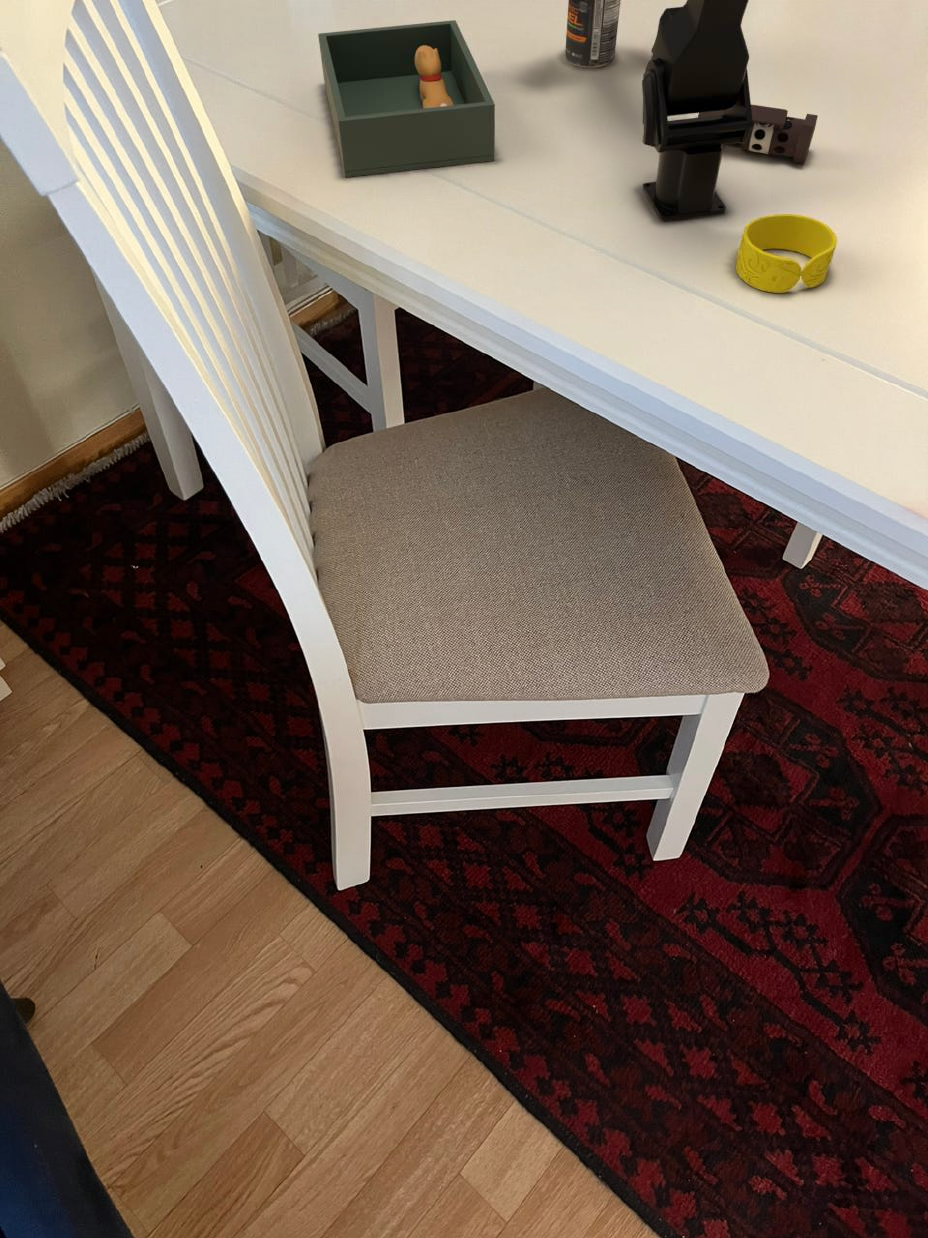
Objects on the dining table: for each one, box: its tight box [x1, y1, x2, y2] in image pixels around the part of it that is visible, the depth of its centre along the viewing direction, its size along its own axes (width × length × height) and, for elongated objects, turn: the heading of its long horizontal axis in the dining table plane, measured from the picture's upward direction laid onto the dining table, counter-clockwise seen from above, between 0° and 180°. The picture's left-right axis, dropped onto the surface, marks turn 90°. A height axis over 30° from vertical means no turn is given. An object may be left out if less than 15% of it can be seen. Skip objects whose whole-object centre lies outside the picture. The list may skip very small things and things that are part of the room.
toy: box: [415, 45, 454, 109], centre depth 101 cm, size 3×17×5 cm, turn 11°
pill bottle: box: [564, 0, 622, 68], centre depth 107 cm, size 6×6×11 cm
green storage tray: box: [317, 19, 496, 178], centre depth 101 cm, size 22×16×6 cm
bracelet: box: [735, 213, 838, 294], centre depth 83 cm, size 7×8×3 cm
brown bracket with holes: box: [697, 104, 819, 165], centre depth 95 cm, size 4×11×5 cm
